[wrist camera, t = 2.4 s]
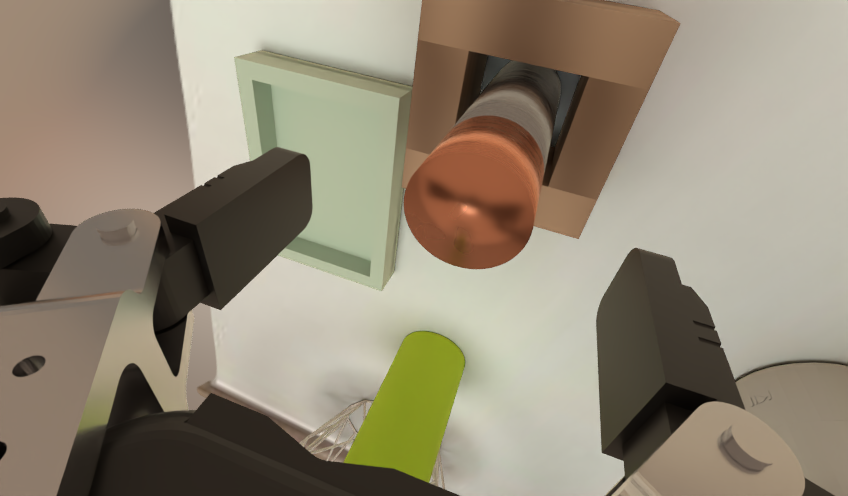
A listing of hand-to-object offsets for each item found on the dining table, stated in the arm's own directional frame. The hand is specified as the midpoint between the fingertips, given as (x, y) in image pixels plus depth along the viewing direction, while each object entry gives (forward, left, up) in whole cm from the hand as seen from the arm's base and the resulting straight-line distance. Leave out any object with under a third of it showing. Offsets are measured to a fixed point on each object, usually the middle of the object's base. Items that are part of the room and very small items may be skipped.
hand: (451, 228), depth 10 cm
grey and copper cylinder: (0, 0, -14) cm, 14 cm away
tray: (+11, +8, -14) cm, 19 cm away
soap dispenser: (+2, +23, -14) cm, 27 cm away
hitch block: (0, 0, -14) cm, 14 cm away
